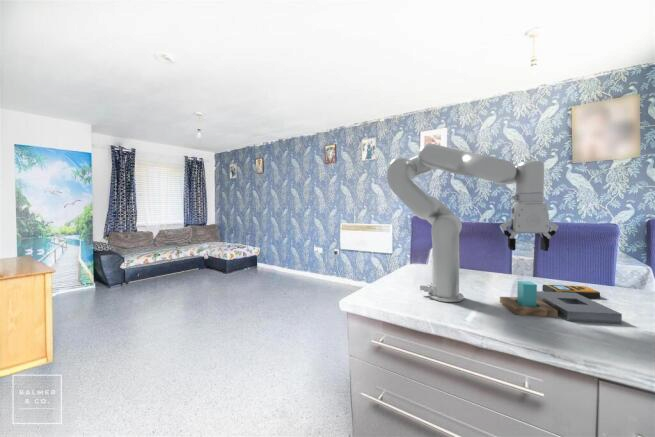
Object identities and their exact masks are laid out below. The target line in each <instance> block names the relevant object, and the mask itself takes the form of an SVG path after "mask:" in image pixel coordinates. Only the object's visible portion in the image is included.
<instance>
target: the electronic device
mask: <svg viewBox="0 0 655 437" xmlns="http://www.w3.org/2000/svg"><path fill="white" fill-rule="evenodd" d="M542 292H568V293H577V294H579V295H582V296H584V297H586V298H588V299H598V300H599V299H600V298H601V293H600V291H598V290H596V289H594V288H592V287H589V286H587V285H586V286H585V285H566V284H565V285H561V284H560V285H559V284H558V285H557V284H543V285H542Z"/></svg>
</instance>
